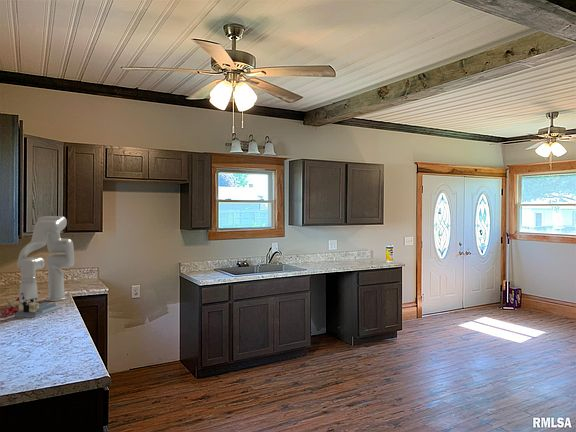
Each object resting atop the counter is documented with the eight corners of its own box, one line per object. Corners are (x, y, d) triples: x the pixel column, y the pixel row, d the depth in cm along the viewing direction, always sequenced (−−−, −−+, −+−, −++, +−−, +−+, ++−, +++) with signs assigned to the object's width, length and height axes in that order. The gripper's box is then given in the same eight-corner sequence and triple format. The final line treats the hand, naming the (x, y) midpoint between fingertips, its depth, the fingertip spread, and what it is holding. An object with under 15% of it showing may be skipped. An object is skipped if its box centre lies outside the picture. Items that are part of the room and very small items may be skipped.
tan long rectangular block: (23, 308, 260) (24, 300, 260) (38, 310, 259) (39, 303, 258) (18, 309, 256) (19, 302, 256) (33, 312, 255) (34, 304, 255)
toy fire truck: (0, 317, 254) (-1, 300, 254) (19, 311, 267) (19, 296, 267) (5, 317, 253) (4, 301, 253) (24, 311, 267) (23, 296, 266)
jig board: (43, 307, 278) (42, 301, 278) (62, 307, 276) (61, 302, 276) (14, 316, 256) (14, 310, 255) (35, 317, 253) (35, 311, 253)
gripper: (33, 277, 266) (34, 307, 266) (11, 282, 249) (12, 314, 250) (44, 277, 265) (45, 307, 265) (23, 282, 248) (24, 314, 249)
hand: (29, 310), depth 257 cm, fingers closed on tan long rectangular block, 4 cm apart
